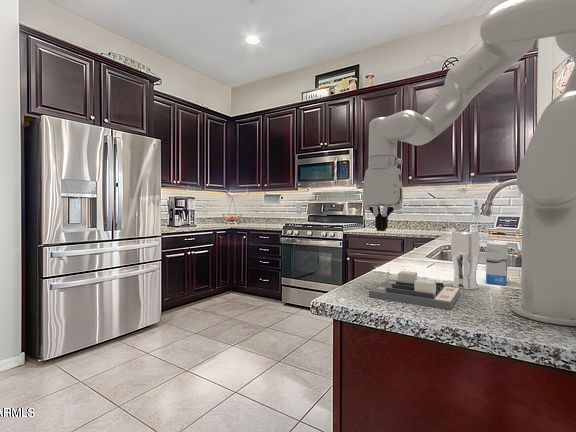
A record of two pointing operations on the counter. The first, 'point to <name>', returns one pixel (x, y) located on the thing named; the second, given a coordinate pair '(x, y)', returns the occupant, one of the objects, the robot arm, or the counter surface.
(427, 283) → the tab
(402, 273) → the tab
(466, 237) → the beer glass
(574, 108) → the robot arm
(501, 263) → the ink box
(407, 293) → the switch panel
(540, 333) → the counter surface
